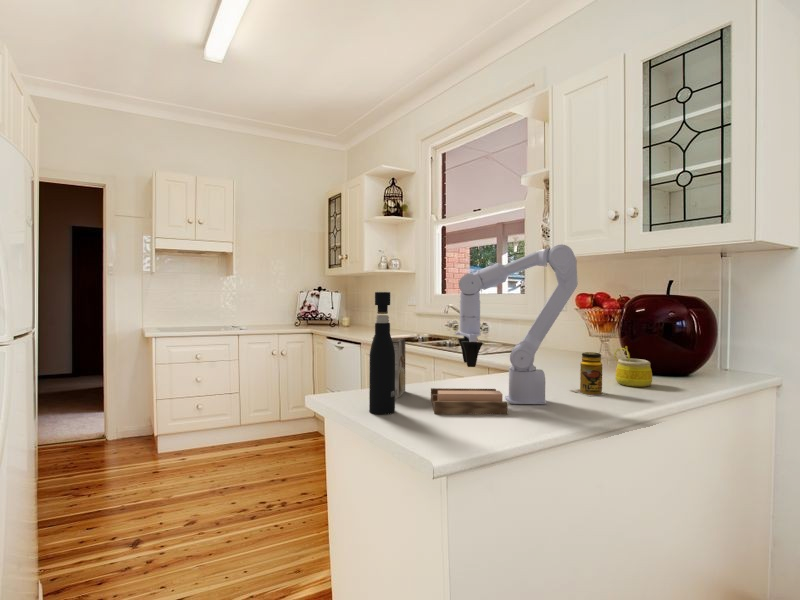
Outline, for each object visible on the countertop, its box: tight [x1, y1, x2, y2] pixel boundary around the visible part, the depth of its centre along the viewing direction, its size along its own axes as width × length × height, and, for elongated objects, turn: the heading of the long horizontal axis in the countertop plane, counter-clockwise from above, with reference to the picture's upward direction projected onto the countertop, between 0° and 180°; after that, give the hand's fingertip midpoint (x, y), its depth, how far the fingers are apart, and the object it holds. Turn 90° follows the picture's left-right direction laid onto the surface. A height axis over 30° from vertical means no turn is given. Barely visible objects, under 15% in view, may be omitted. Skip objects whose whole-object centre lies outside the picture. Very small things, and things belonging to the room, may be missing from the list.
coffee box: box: [391, 337, 406, 399], centre depth 141 cm, size 9×6×16 cm
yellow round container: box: [614, 345, 653, 388], centre depth 157 cm, size 13×11×12 cm
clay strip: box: [438, 390, 503, 401], centre depth 123 cm, size 16×4×3 cm, turn 90°
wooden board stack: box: [430, 387, 509, 416], centre depth 127 cm, size 18×16×3 cm
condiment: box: [569, 351, 609, 397], centre depth 145 cm, size 7×8×12 cm
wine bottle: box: [368, 291, 396, 416], centre depth 121 cm, size 6×6×30 cm
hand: (469, 364), depth 137 cm, fingers open, 7 cm apart
